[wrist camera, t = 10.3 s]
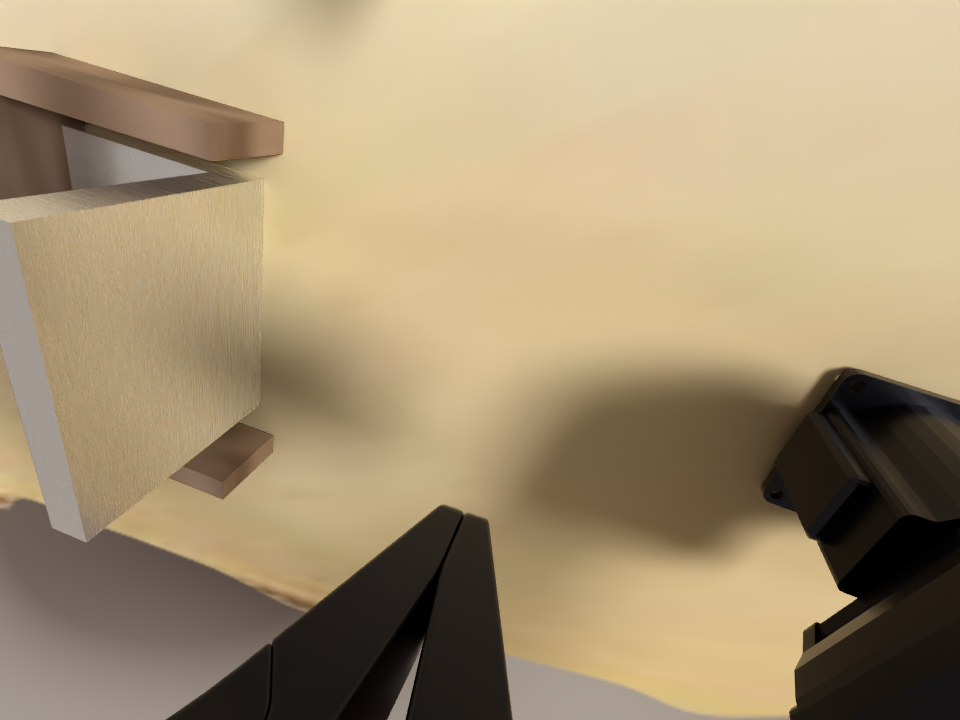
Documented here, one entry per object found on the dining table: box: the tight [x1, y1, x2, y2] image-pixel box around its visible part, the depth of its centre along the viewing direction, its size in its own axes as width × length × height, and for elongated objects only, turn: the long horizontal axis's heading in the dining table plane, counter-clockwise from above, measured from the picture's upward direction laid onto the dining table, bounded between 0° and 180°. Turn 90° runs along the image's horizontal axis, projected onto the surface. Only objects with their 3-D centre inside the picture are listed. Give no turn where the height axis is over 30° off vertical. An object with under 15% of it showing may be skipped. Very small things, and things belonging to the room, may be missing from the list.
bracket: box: [0, 125, 264, 542], centre depth 20 cm, size 8×12×10 cm
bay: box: [0, 47, 284, 499], centre depth 23 cm, size 11×17×4 cm, turn 165°
